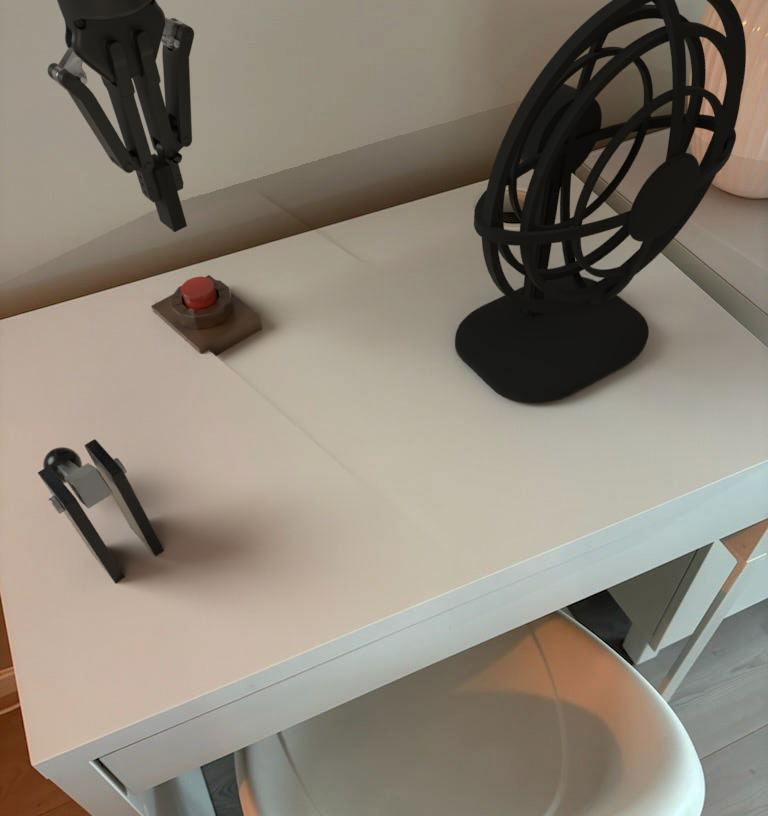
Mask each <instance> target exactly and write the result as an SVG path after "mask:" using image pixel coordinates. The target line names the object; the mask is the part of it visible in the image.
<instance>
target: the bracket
mask: <svg viewBox="0 0 768 816" xmlns="http://www.w3.org/2000/svg"><path fill="white" fill-rule="evenodd" d="M84 448H85V450H86V451H87V454H88V455H89V457H90V459H91V460H92V462H93V464H94V467H95V468H96V469H97V470H98V471H99V473H100V474H101V476H102V477H103V479H104V480H105V482H106V483H107V485H108V486H109V488H110V489H111V491H112V492H113V494H111V496H112V498H113V500H114V502H115V503H116V505H117V507H118V508H119V510H120V512H121V513H122V515H123V517H124V519H125V521H126V522H127V524H128V526H129V528H130V529H131V530H132V532H133V533H134V534H135V535H136V536H137V537H138V538H139V540H140V541H141V542H142V543H143V544H144V545H145V547H146V548H147V549H148V550H149V551H150V553H151V554H152V555H153V556H154V557H157V556H158V555H160V554H162V553H163V552H165V548H164V546H163V545H162V542H161V540H160V538H159V537H158V535H157V533H156V531H155V529H154V527H153V525H152V523H151V521H150V520H149V517H148V515H147V514H146V512H145V510H144V508H143V506H142V504H141V502H140V500H139V498H138V497H137V495H136V492H135V491H134V489H133V487H132V485H131V483H130V481H129V479H128V477H127V475H126V474H127V472H128V471H127V469H126V467H125V465H124V464H123V463H122V461H121V460H120V459H119V458H118V457H115V458H113V457H112V456H111V455H110V454H109V452H108V451H107V450H105V448H104V447H103V446H102V445H101V444H100V443H99V441H98V440H97V439H92V440H91V441H88V442H87V443H85V444H84ZM37 474H38V476H39V477H40V479H41V481H42V482H43V484H44V485H45V486H46V488H47V489H48V491H49V492H50V494H51V495H52V496H51V497H49V498H48V502H49V503H50V504H51V505H52V507H53V508H54V509H55V511H56V512H57V513H58V514H59V515H60V514H62V513H64V514H65V516H66V518H67V519H68V521H69V522H70V523H71V525H72V526H73V528H74V529H75V531H76V532H77V534H78V536H79V537H80V538H81V540H82V541H83V543H84V544H85V546H86V547H87V549H88V550H89V552H90V553H91V555H92V556H93V557H94V559H95V560H96V561H97V562H98V563H99V565H100V566H101V567H102V568H103V570H104V572H105V573H106V574H107V575H108V576H109V577H110V579H111V581H113V583H114V584H117V583H119V582H120V581H122V580H124V579H126V575H125V574H124V572H123V570H122V569H121V567H120V566H119V564H118V562H117V561H116V559H115V558H114V556H113V555H112V553H111V551H110V550H109V549H108V547H107V545H106V544H105V542H104V541H103V539H102V537H101V536H100V534H99V532H98V531H97V529H96V528H95V526H94V525H93V523H92V522H91V520H90V518H89V517H88V515H87V513H86V512H85V510H84V509H83V507H82V506H81V504H80V503H79V501H78V500H77V499H78V498H76V497H75V495H74V493H72V492H71V491H70V489H69V488H68V486H66V484H65V483H63V482H62V481H61V480H60V478H59V477H58V476H57V475H56V474H55V472H54V471H53V470H52V469H51V467H50V466H48V467H46V468H43V469H41V470H39V471H38V472H37Z"/></svg>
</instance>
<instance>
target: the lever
mask: <svg viewBox="0 0 768 816" xmlns="http://www.w3.org/2000/svg"><path fill="white" fill-rule="evenodd" d="M42 462H43V463H42V467H43V469H44V468H46V467H48V466H50V467H51V469H52V470H53V471H54V472H55V474H56V475H57V476H58V477H59V478H60V480H61V481H62V482H63V483H64V484H66V483H67V484H68V486H69V487H70V489H71V490H72V492H73V494H75V496H76V497H77V499H78V500H79V501H80V502H81V504H83V506H85V507H86V508H87V509H91V508H92V507H94V506H96V505H97V504H99V503H100V502H102V501H103V500H105V499H107V498H108V497H110V496H112V494H113V492H112V491H111V489H110V488H109V486H108V485H107V483H106V482H105V480H104V479H103V477H102V476H101V474H100V473H99V471H98V469H97V467H96V466H95V465H94V466H93V465H92V464H91V463H89V462H87V463H85V464H83V462H82V459H81V456H80V455H79V454H78V453H77V452H76V451H75V450H74V449H72V448H69V447H65V446H60V447H55V448H52V449H51V450H49V451H48V452H47V453H46V454H45V456H44V458H43V461H42Z"/></svg>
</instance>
